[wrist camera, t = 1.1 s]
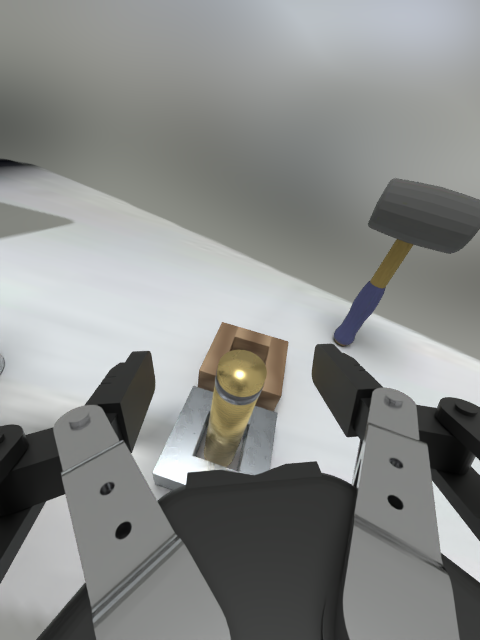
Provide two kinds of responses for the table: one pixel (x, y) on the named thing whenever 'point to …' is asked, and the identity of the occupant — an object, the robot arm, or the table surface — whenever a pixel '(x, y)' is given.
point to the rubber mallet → (411, 237)
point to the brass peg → (232, 403)
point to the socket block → (190, 432)
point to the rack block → (257, 343)
